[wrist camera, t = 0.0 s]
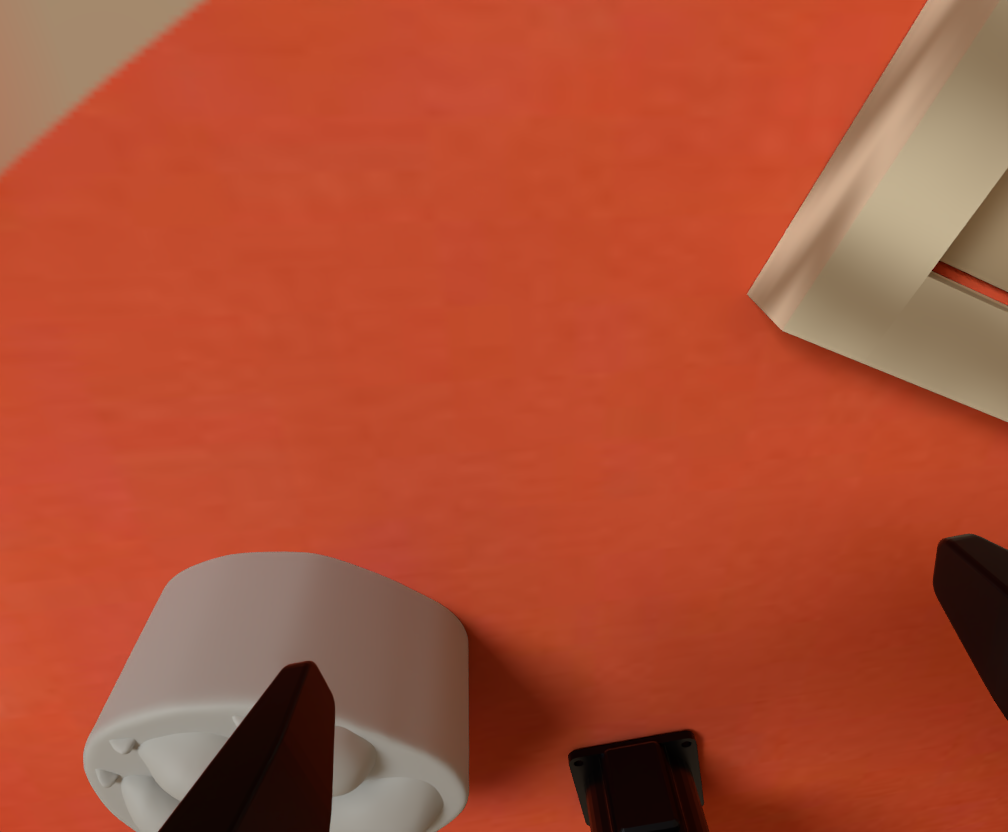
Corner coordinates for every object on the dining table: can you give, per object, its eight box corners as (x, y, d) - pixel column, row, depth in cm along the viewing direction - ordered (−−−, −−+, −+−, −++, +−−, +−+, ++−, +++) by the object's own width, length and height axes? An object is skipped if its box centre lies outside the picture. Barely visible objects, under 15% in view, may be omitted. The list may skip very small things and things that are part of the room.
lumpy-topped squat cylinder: (386, 747, 35) (364, 948, 28) (125, 663, 31) (17, 872, 24) (495, 620, 31) (504, 818, 23) (208, 503, 27) (109, 697, 19)
